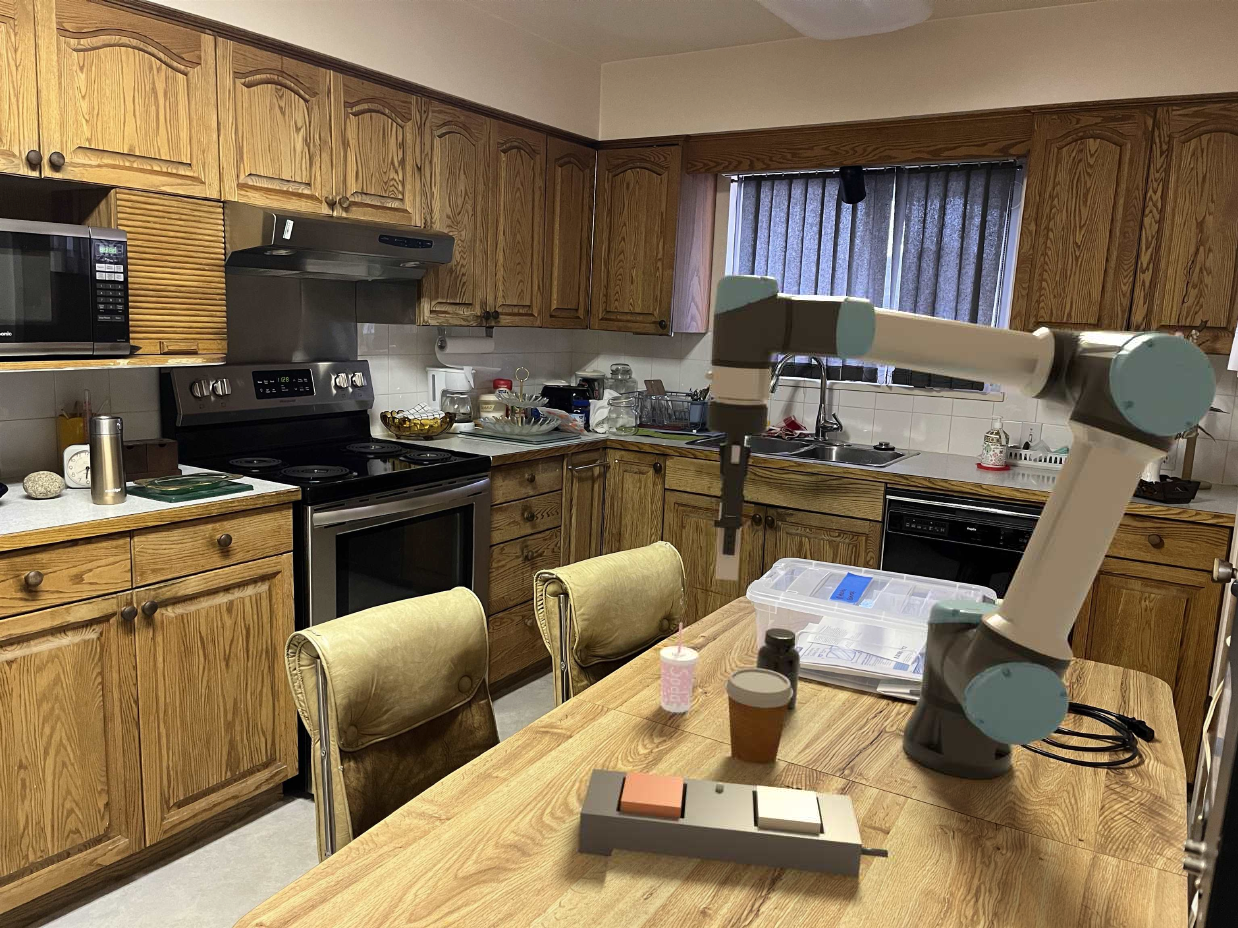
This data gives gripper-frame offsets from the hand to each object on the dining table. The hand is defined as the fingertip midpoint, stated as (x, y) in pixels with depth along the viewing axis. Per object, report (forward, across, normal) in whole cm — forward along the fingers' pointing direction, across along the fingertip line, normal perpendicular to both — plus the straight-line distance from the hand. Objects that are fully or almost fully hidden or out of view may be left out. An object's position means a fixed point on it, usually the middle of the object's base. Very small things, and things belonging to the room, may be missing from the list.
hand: (726, 563), depth 119 cm
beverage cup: (+31, -23, -6) cm, 39 cm away
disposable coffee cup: (+31, -8, +6) cm, 32 cm away
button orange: (+30, +14, -7) cm, 33 cm away
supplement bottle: (+31, -28, +10) cm, 43 cm away
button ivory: (+30, +14, +9) cm, 34 cm away
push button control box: (+31, +14, +3) cm, 34 cm away
